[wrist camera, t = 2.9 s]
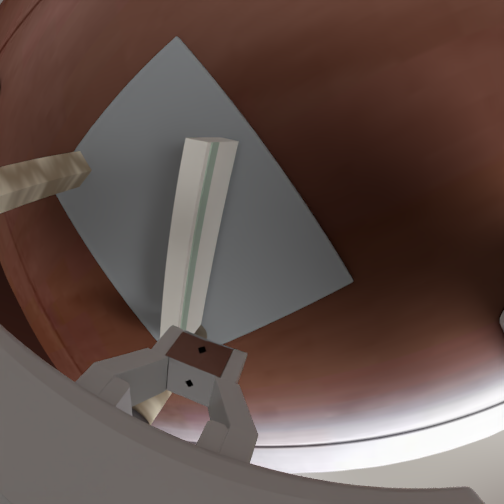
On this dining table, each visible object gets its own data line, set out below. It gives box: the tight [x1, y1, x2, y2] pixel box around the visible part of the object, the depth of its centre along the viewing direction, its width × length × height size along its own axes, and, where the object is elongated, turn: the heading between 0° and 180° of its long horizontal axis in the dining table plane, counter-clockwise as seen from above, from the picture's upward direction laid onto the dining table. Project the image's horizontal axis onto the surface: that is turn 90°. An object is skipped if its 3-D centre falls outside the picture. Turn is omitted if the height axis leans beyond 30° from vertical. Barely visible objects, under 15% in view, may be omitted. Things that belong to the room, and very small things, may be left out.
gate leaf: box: [160, 137, 239, 338], centre depth 25 cm, size 19×2×6 cm, turn 166°
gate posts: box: [0, 151, 207, 425], centre depth 25 cm, size 26×4×15 cm, turn 36°
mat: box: [56, 36, 353, 344], centre depth 29 cm, size 28×24×1 cm
